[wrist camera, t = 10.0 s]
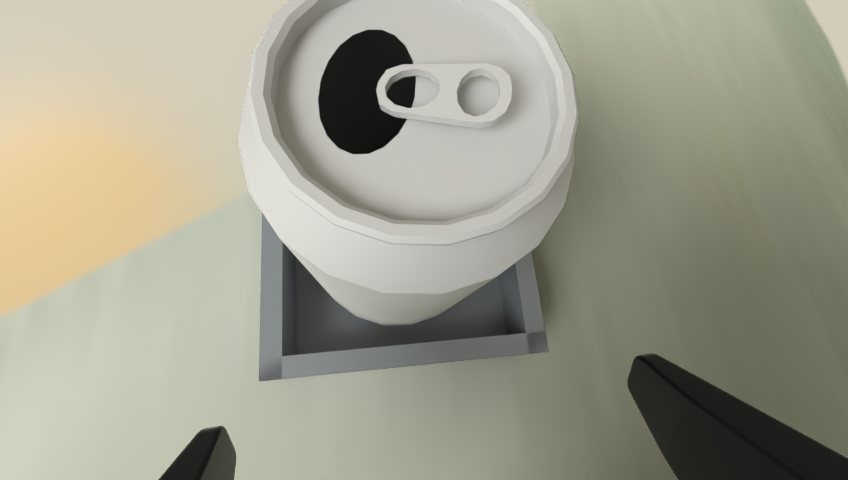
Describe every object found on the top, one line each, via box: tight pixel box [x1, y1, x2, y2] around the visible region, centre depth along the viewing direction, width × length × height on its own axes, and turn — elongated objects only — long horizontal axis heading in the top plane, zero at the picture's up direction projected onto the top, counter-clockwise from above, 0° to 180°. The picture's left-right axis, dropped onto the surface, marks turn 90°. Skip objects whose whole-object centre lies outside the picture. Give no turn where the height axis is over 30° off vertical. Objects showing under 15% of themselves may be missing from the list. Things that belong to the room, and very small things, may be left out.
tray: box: [259, 213, 549, 381], centre depth 18 cm, size 11×11×3 cm
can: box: [238, 0, 580, 326], centre depth 13 cm, size 8×8×12 cm
